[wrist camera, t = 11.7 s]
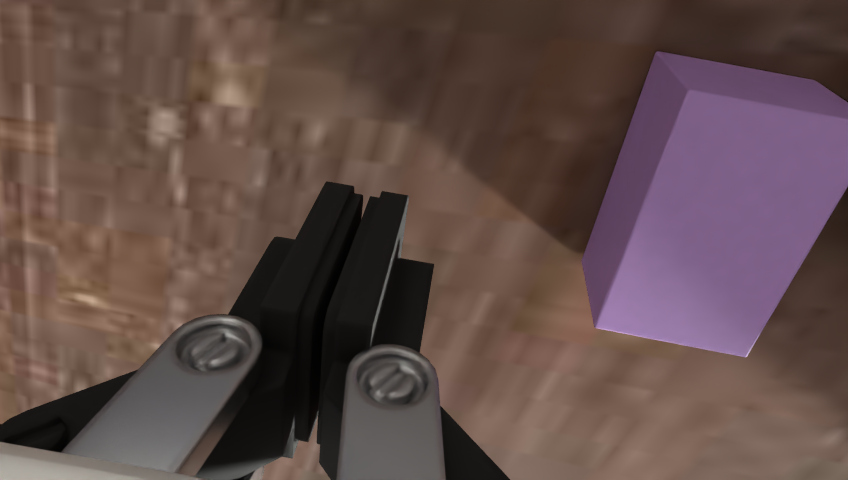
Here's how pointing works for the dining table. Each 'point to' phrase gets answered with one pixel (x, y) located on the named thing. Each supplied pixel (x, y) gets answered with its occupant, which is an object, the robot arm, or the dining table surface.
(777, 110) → the block
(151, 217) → the dining table surface
